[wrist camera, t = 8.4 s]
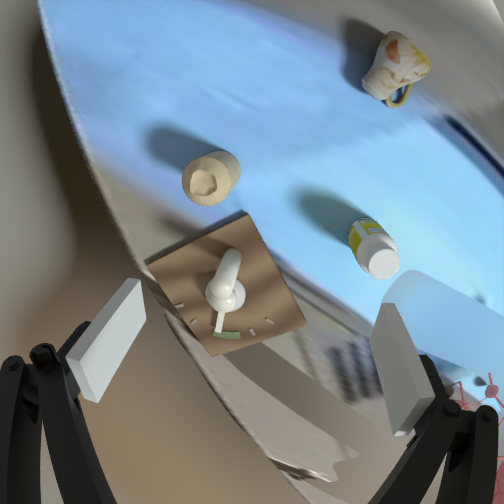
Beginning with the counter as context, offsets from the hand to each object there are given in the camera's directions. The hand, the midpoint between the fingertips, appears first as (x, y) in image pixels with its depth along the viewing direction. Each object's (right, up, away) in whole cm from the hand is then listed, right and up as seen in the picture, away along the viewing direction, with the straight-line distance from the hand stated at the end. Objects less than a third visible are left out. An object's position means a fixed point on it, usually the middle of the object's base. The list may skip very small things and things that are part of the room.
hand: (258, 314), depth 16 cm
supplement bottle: (+16, +6, +26) cm, 31 cm away
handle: (-4, -3, +31) cm, 31 cm away
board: (-4, -3, +32) cm, 32 cm away
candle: (-5, +14, +25) cm, 29 cm away
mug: (+18, +27, +17) cm, 36 cm away
